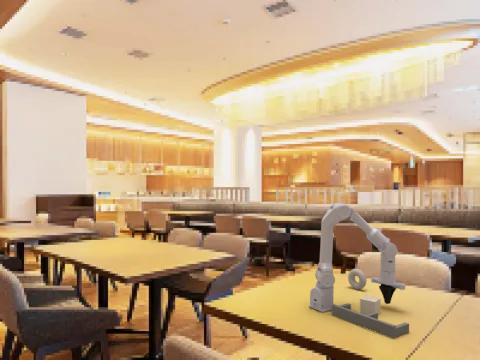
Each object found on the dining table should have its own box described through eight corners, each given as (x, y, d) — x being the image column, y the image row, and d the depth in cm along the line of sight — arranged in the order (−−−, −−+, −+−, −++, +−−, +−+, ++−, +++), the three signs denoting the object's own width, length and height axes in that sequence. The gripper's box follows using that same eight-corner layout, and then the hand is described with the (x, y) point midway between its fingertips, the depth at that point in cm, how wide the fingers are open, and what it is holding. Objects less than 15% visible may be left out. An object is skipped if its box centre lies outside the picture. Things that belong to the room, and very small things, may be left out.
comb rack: (393, 338, 126) (393, 326, 126) (331, 315, 148) (332, 304, 148) (409, 332, 132) (409, 320, 132) (347, 310, 153) (347, 300, 153)
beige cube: (360, 314, 150) (360, 298, 150) (365, 310, 155) (365, 295, 155) (375, 317, 146) (375, 301, 146) (380, 313, 151) (380, 298, 151)
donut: (368, 291, 182) (368, 270, 182) (363, 292, 180) (363, 271, 180) (350, 286, 190) (351, 266, 190) (346, 287, 188) (346, 267, 188)
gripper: (409, 272, 153) (409, 306, 153) (378, 266, 165) (378, 297, 165) (399, 275, 149) (399, 309, 149) (368, 268, 161) (368, 299, 161)
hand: (387, 303), depth 157 cm, fingers closed
